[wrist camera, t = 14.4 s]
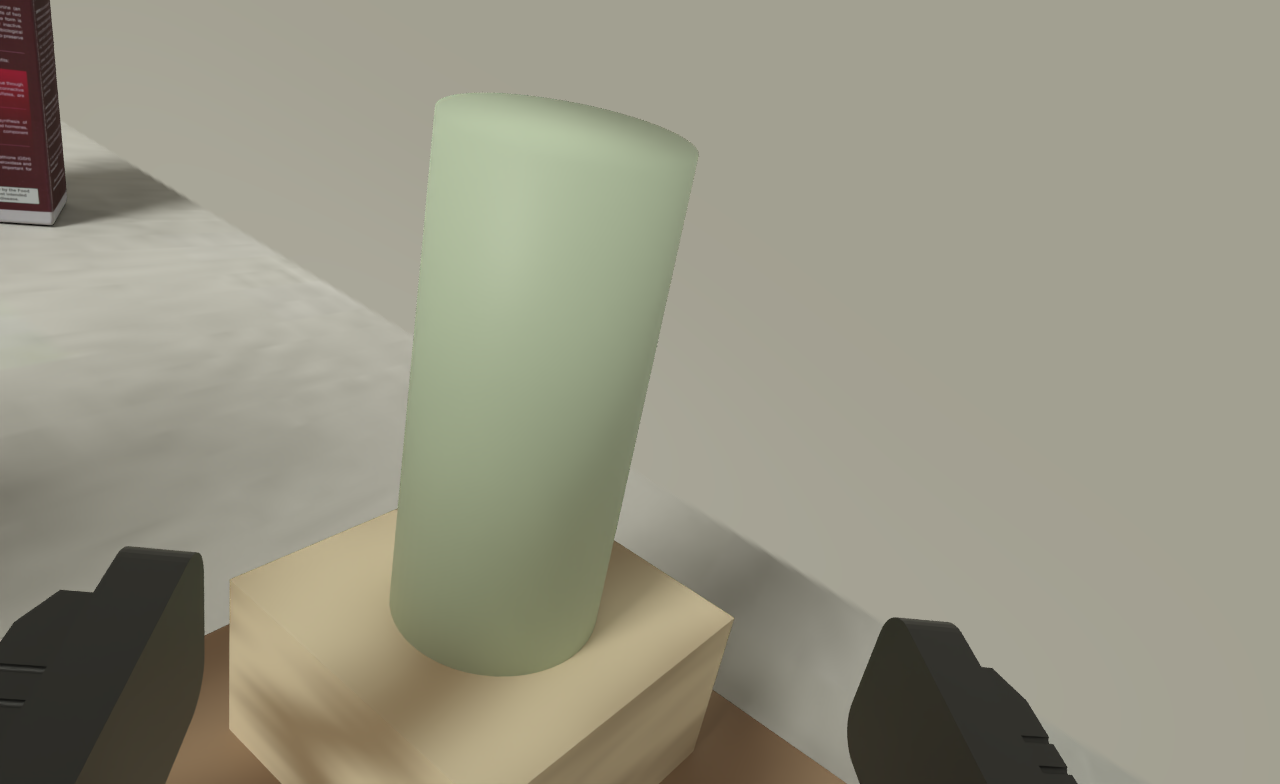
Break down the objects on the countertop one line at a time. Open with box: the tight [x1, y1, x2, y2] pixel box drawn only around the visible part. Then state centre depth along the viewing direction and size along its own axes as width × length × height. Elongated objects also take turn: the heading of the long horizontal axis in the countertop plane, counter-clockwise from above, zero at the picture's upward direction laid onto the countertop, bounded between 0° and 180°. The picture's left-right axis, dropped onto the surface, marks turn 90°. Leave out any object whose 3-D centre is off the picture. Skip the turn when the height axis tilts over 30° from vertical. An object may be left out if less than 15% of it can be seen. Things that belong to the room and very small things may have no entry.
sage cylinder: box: [389, 93, 699, 677], centre depth 21 cm, size 5×5×12 cm
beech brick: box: [229, 509, 734, 784], centre depth 25 cm, size 9×9×5 cm
